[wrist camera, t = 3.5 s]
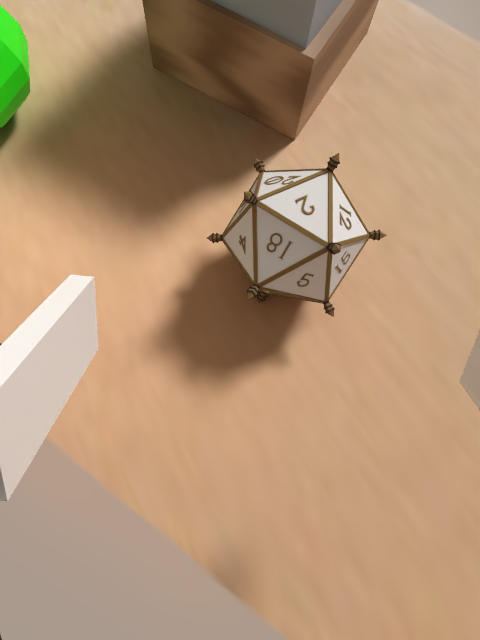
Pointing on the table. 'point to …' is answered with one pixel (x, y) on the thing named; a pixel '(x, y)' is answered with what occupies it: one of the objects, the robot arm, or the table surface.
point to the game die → (296, 234)
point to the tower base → (253, 57)
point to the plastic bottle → (12, 66)
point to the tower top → (286, 16)
